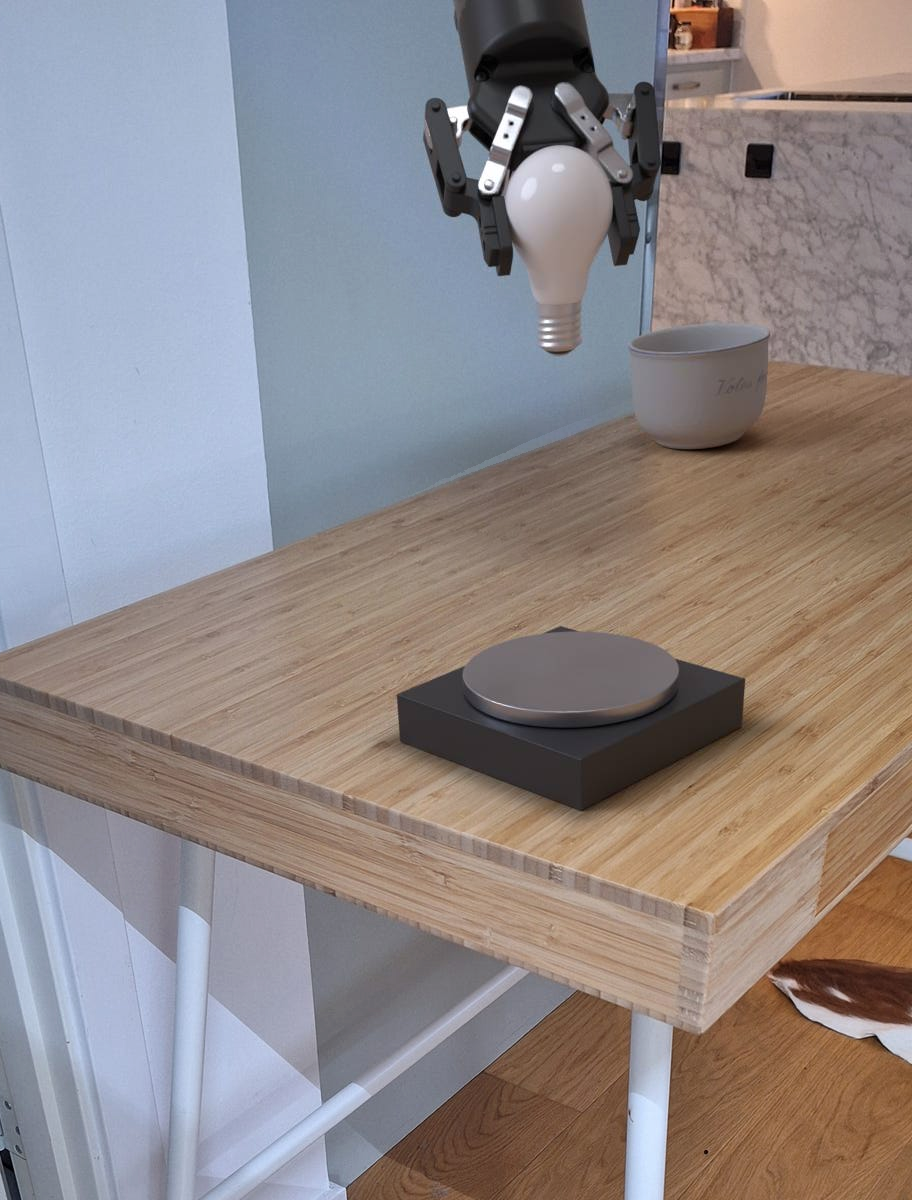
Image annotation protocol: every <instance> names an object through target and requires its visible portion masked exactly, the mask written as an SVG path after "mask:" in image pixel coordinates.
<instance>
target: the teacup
mask: <svg viewBox="0 0 912 1200" xmlns="http://www.w3.org/2000/svg"><path fill="white" fill-rule="evenodd" d="M770 337H771V331H770V329H769V328H768V327H766V326H763V325H759V324H756V323H755V324H754V323H747V322H722V321H720V320H713V321H707V322H706V323H695V324H687V325H680V326H672V327H666V328H662V329H659V330H654V331H650V332H647V333H644V334H641V335H639V336H636V337H634V338H633V339H631V340H630V341H629V342H628V345H627V346H628V351H629V354H630V356H629V357H630V358H629V359H630V382H631V383H630V384H631V395H632V407H633V413H634V417H635V420H636V423H637V424H638V426H639V428H640V429H641V430H642V431H643V432H645V433H646V434H647V435H649V436H650V437H652V438H653V440H654V441H655V442H656V443H657V444H658V445H660V446H662V447H664V448H667V449H669V448H670V449H676V450H700V449H709V448H716V447H720V446H725V445H729V444H731V443H733V442H736V441H737V440H739V439H740V438H742V436H743V435H744V434H745V433H746V431H747V430H748V429H750V427H751V426H753V425H754V424H756V421H758V419H759V418H760V416H761V415H762V412H763V410H764V407H765V404H766V398H767V397H766V396H767V387H768V370H769V369H768V368H769V340H770Z"/></svg>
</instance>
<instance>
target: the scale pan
mask: <svg viewBox="0 0 912 1200" xmlns="http://www.w3.org/2000/svg"><path fill="white" fill-rule="evenodd" d="M543 633H544V634H542V633H537V634H532V635H525V636H520V637H517V638H511V639H509V640H505V641H502V642H500V643H497V644H494V645H491V646H489V647H487V648H485V649H483V650H482V651H481V650H480V652H478V653H476V654H475V655H473V657H471V658H470V659H469V660H468V662H466V665H464V666H465V668H464V670H463V691H464V695H465V696H466V698H467V700H468V701H469V702H470V703H471V704H472V705H473V706H474V707H475V708H477V709H478V710H480V711H482V712H484V713H486V714H488V715H490V716H493V717H495V718H498V719H501V720H505V721H508V722H513V723H518V724H523V725H530V726H538V727H552V728H578V727H592V726H600V725H608V724H613V723H618V722H623V721H627V720H631V719H634V718H637V717H640V716H643V715H646V714H648V713H650V712H653V711H655V710H657V709H658V708H660V707H662V706H663V705H665V704H666V703H667V702H669V701H670V700H671V699H672V697H673V696H674V695H675V693H676V691H677V689H678V684H679V666H678V664H677V662H676V660H675V659H676V658H675V657H674V656H673V655H672V654H671V653H670V652H668V651H667V650H666V649H664V648H662V647H660V646H658V645H656V644H655V643H652V642H649V641H646V640H643V639H641V638H636V637H633V636H628V635H622V634H617V633H610V632H609V633H608V632H601V631H600V632H599V631H580V632H554V633H545V632H543Z"/></svg>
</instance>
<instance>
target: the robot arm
mask: <svg viewBox="0 0 912 1200" xmlns="http://www.w3.org/2000/svg"><path fill="white" fill-rule="evenodd" d="M452 3H453V9H454V11H453V13H454V14H453V20H454V25H455V29H456V30H455V31H456V32H457V34H458V38H459V43H460V48H461V55H462V61H463V66H464V71H465V75H466V76H465V77H466V82H467V88H468V89H467V90H468V94H469V98H468V100H467V103H466V104H462V105H457V106H451V107H447V105H446V102H445V101H444V100H443V99H441V98H439V97H431V98H429V99H428V100H427V101H426V102H425V109H424V120H423V135H422V140H423V141H422V142H423V144H424V148H425V151H426V155H427V159H428V161H429V165H430V169H431V172H432V176H433V179H434V184H435V186H436V187H435V188H436V190H437V194H438V196H439V200H440V204H441V207H442V211H443V213H444V214H445V215H446V216H448V217H450V218H457V217H460V216H461V215H462V214H464V215H468V216H470V217H472V218H473V219H474V220H475V221H476V224H477V228H478V233H479V239H480V244H481V251H482V256H483V260H484V262H485V264H486V265H487V267H488V268H493V267H495V270H496V276H497V277H505V276H511V273H512V267H513V261H514V260H513V259H514V247H513V245H512V239H511V234H510V228H509V223H508V217H507V211H506V206H505V200H504V198H505V193H506V190H507V187H508V184H509V181H510V179H511V177H512V175H513V174H514V172H515V171H516V169H517V168H518V166H519V165H520V164H521V163H522V162H523V161H524V160H525V159H526V158H527V157H529V156H530V155H531V154H533V153H534V152H536V151H538V150H540V149H543V148H545V147H549V146H554V145H567V146H572V147H576V148H578V149H581V150H583V151H585V152H586V153H588V154H589V155H591V156H592V157H593V158H594V159H595V160H596V161H597V162H598V163H599V164H600V166H601V167H602V168H603V170H604V172H605V173H606V175H607V177H608V180H609V183H610V186H611V190H612V195H613V216H612V221H611V225H610V228H609V231H608V234H607V239H608V243H609V244H608V245H609V250H610V254H611V260H612V265H613V266H614V267H619V266H627V265H628V263H629V258H630V256H631V255H632V256H633V255H634V254H635V251H636V247H637V244H638V240H639V237H640V233H641V227H640V222H639V217H638V212H637V207H636V202H635V201H636V200H638V201H640V202H646V201H648V200H650V199H651V198H652V196H653V193H654V190H655V184H656V179H657V176H658V173H659V172H660V168H661V165H662V159H661V145H660V137H659V136H660V135H659V124H658V114H657V103H656V89H655V87H654V86H653V85H652V83H650V82H648V81H640V82H637V83H636V85H635V86H634V89H633V93H620V92H619V93H617V92H616V93H615V92H613V93H610V92H608V89H607V88H606V86H605V85H604V84H603V83H602V82H601V81H600V79H599V78H598V76H597V73H596V67H595V66H596V65H595V60H594V53H593V50H592V49H593V48H592V44H591V40H590V34H589V29H588V24H587V19H586V13H585V9H584V3H583V0H452ZM605 120H610V121H612V122H613V123H614V124H615V125H616V129H617V131H618V132H619V133H620V138H621V139H622V140H624V141H625V140H627V144H628V145H627V146H628V158H629V164H628V163H627V162H626V161H625V160H624V159H623V157H622V155H620V154H619V153H618V151H617V149H615V147H614V141H613V138H612V136H611V135H610V133H609V132H608V130H607V129H606V128H605V127H604V126H603V125H604V123H605ZM467 131H468V132H469V134H470V135H471V136H472V137H473V138H474V139H475V140H476V141H477V142H478V143H479V144H480V145H481V146H483V148H484V149H485V150H487V151H488V157H487V160H486V162H485V165H484V167H483V170H482V173H481V175H480V176H479V177H480V178H479V179H476V178H471V177H467V176H468V175H467V173H466V170H465V169H466V168H465V166H464V163H463V160H462V156H461V152H460V149H459V148H460V147H461V145H462V142H463V141H462V139H463V135H464V133H465V132H467Z"/></svg>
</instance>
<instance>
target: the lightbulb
mask: <svg viewBox="0 0 912 1200" xmlns="http://www.w3.org/2000/svg"><path fill="white" fill-rule="evenodd" d="M504 200H505V206H506V211H507V217H508V223H509V228H510V234H511V239H512V245H513V250H514V251H515V252H516V254H517V256H518V257H519V259H520V260H521V262H522V264H523V266H524V268H525V271H526V272H527V275H528V278H529V283H530V290H531V293H532V295H533V298H534V300H535V302H536V311H537V313H536V315H537V318H538V319H537V321H536V323H537V325H538V327H537V329H536V330H537V332H538V335H537V340H538V342H537V346H538V347H539V348H541V349H542V350H544V351H545V352H546V353H548V354H550V355H551V356H554V357H564V356H565V357H566V356H567V355H569V354H570V353H571V352H573V351H575V349H576V348H578V347H579V346H580V345H581V344H582V342H583V338H582V336H581V334H582V328H581V326H582V324H583V323H582V321H581V319H582V316H583V315H582V313H581V311H582V310H583V309H582V307H583V301H582V300H583V298H584V296H585V293H586V290H587V287H588V282H589V281H588V280H589V274H590V271H591V267H592V266H593V263H594V261H595V258H596V257H597V255H598V254H599V251H600V250H601V248H602V246H603V244H604V242H605V241H606V238H607V237H608V231H609V228H610V225H611V221H612V216H613V195H612V190H611V186H610V183H609V180H608V177H607V175H606V173H605V172H604V170H603V168H602V167H601V166H600V164H599V163H598V162H597V161H596V160H595V159H594V158H593V157H592V156H591V155H589V154H588V153H587V152H585V151H583V150H581V149H578V148H576V147H572V146H567V145H554V146H549V147H545V148H543V149H540V150H538V151H536V152H534V153H533V154H531V155H530V156H529V157H527V158H526V159H525V160H524V161H523V162H522V163H521V164H520V165H519V166H518V168H517V169H516V171H515V172H514V173H513V175H512V177H511V179H510V181H509V184H508V187H507V190H506V193H505V196H504Z"/></svg>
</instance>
